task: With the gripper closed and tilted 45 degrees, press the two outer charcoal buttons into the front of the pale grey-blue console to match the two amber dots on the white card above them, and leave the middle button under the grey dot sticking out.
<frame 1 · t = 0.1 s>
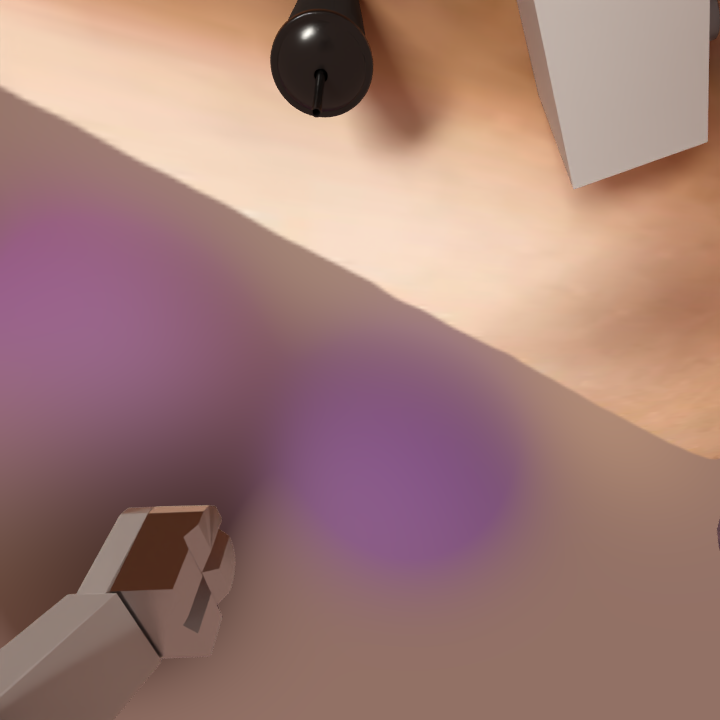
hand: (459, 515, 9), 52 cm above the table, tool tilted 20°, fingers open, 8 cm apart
button 3: (688, 21, 43), point 7 cm above the table, slide at 0.0 cm
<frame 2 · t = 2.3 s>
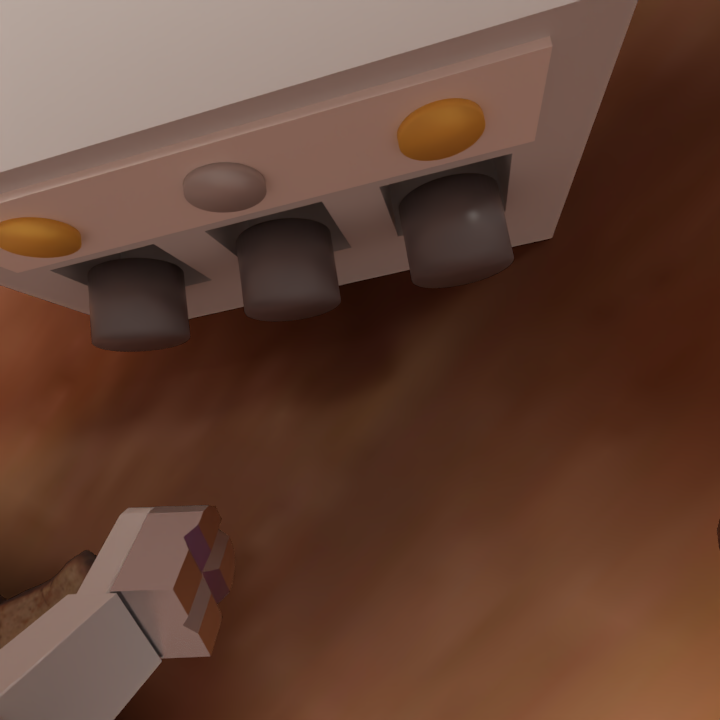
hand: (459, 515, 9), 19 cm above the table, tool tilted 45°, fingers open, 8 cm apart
console: (316, 204, 31), on the table
button 2: (288, 273, 23), point 7 cm above the table, slide at 0.0 cm
button 1: (454, 234, 21), point 7 cm above the table, slide at 0.0 cm
button 3: (139, 307, 24), point 7 cm above the table, slide at 0.0 cm
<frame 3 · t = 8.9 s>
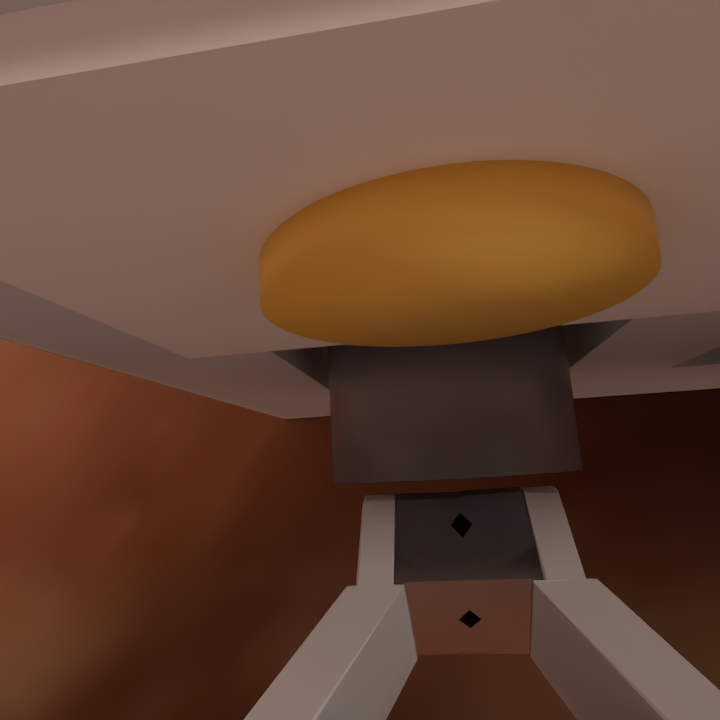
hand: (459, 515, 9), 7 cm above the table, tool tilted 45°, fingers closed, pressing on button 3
console: (662, 227, 16), on the table
button 3: (445, 386, 9), point 7 cm above the table, slide at 1.1 cm, touching gripper
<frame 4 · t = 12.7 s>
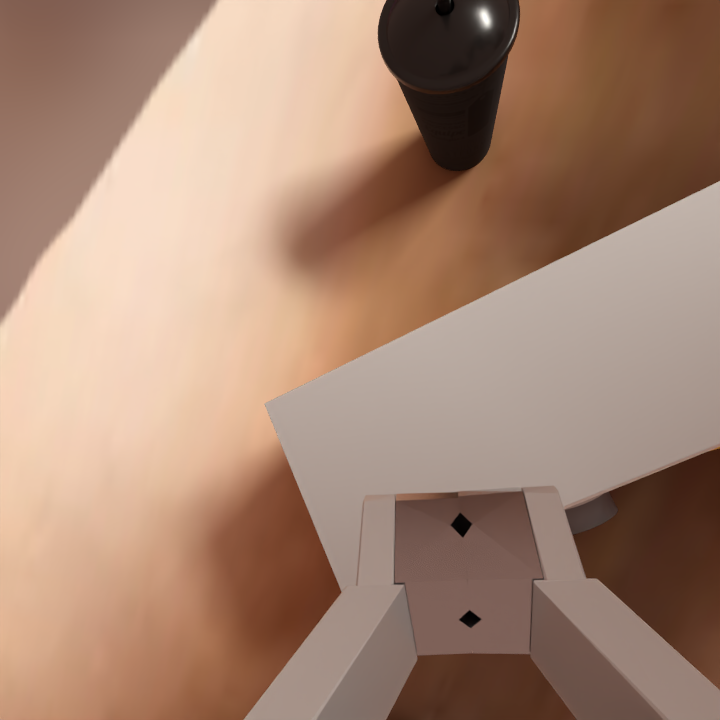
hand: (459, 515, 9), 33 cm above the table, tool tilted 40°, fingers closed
console: (515, 398, 40), on the table
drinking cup: (459, 142, 43), on the table
button 2: (571, 497, 32), point 7 cm above the table, slide at 0.0 cm
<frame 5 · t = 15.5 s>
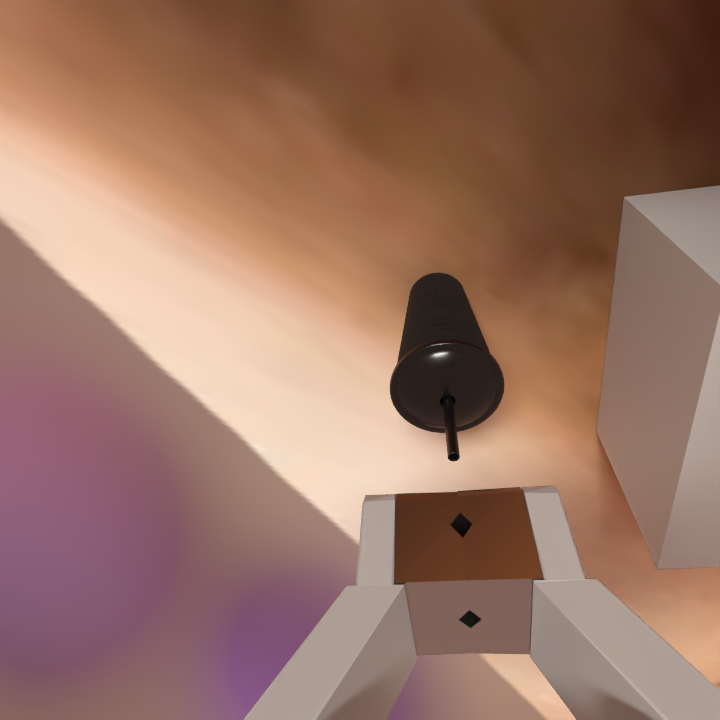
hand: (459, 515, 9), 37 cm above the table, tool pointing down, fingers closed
console: (667, 324, 48), on the table
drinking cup: (436, 296, 48), on the table
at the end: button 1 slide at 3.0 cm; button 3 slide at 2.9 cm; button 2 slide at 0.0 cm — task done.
